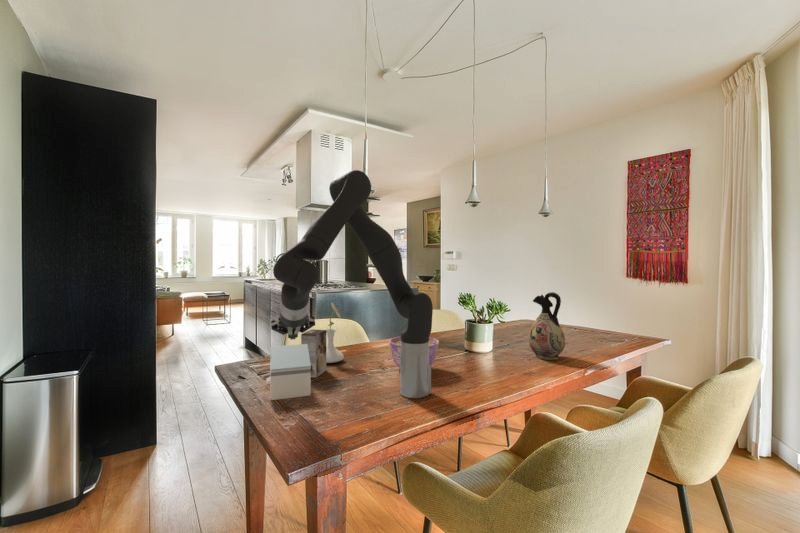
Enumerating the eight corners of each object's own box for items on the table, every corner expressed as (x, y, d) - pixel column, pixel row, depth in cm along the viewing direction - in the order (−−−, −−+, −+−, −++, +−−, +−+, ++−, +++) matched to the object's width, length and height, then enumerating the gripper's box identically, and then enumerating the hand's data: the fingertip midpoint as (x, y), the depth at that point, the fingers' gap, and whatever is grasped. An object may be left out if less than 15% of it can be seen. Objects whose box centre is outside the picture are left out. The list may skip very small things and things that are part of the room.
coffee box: (311, 369, 142) (311, 329, 142) (326, 370, 141) (327, 329, 141) (300, 376, 133) (300, 333, 133) (316, 377, 132) (317, 334, 132)
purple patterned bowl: (385, 376, 134) (385, 345, 134) (392, 361, 154) (392, 334, 154) (438, 378, 132) (439, 347, 132) (439, 363, 152) (439, 336, 152)
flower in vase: (341, 365, 148) (341, 305, 148) (313, 365, 148) (314, 304, 148) (346, 357, 161) (346, 301, 161) (321, 356, 161) (321, 301, 161)
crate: (306, 384, 125) (306, 358, 125) (310, 395, 115) (310, 367, 114) (270, 388, 121) (270, 361, 121) (270, 400, 110) (270, 371, 110)
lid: (307, 345, 124) (307, 343, 124) (310, 367, 115) (310, 365, 114) (270, 348, 120) (270, 346, 119) (270, 371, 110) (270, 369, 110)
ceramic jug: (521, 357, 163) (522, 291, 163) (537, 351, 174) (538, 289, 173) (559, 365, 151) (560, 294, 150) (574, 358, 161) (575, 292, 161)
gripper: (317, 294, 103) (312, 323, 116) (268, 298, 98) (269, 328, 111) (320, 317, 99) (315, 345, 112) (269, 322, 94) (270, 350, 107)
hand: (292, 336), depth 112 cm, fingers closed
